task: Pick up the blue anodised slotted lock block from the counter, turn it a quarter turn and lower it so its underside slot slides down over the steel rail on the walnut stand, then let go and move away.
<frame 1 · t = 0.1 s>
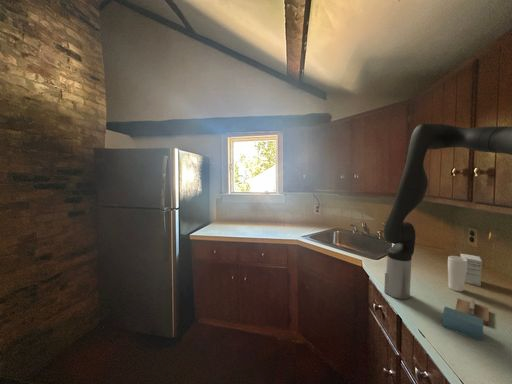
supplement box: (469, 281, 111), on the worktop
rail stand: (471, 312, 86), on the worktop
lock block: (461, 329, 77), on the worktop
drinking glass: (455, 289, 103), on the worktop
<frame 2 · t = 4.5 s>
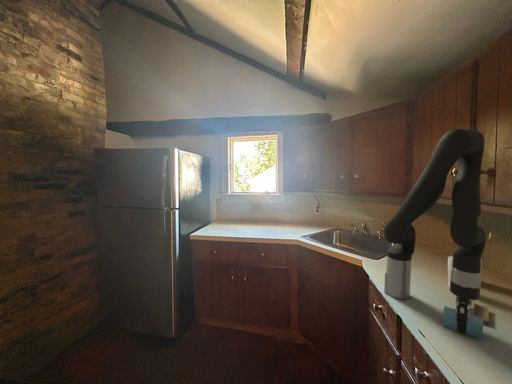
hand: (461, 327, 77), 1 cm above the worktop, tool pointing down, fingers closed on lock block, 5 cm apart
lock block: (461, 329, 77), on the worktop, touching gripper
everything else where it was.
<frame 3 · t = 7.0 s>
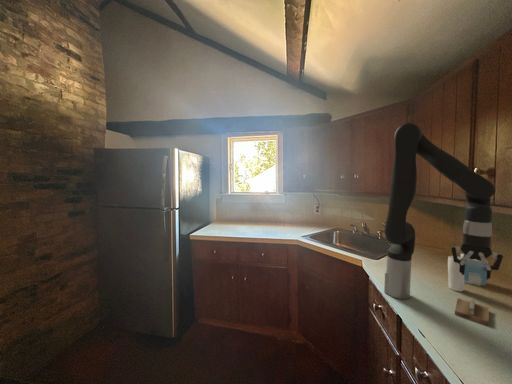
hand: (473, 276, 83), 16 cm above the worktop, tool pointing down, fingers closed on lock block, 5 cm apart
lock block: (473, 277, 83), point 15 cm above the worktop, touching gripper
everything else where it was.
when the fingers open (3 cm above the worktop, at t = 9.8 s): lock block stays where it is, resting on rail stand.
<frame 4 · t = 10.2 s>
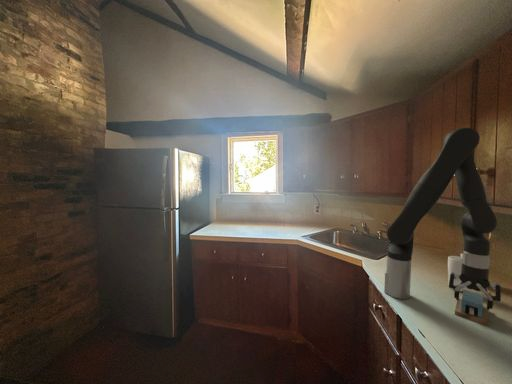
hand: (472, 303, 86), 4 cm above the worktop, tool pointing down, fingers open, 8 cm apart
lock block: (471, 309, 86), point 1 cm above the worktop, touching rail stand
everything else where it was.
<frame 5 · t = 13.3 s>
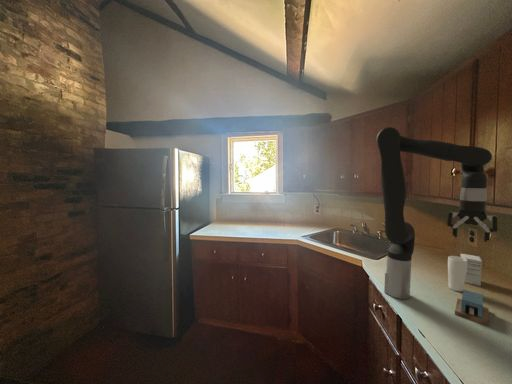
hand: (470, 239, 88), 28 cm above the worktop, tool pointing down, fingers open, 8 cm apart
nothing on the worktop moved.
at the end: lock block 0.1 cm off-centre on the rail stand, point 1.5 cm above the rail stand's base; lock block tilted 0°; the gripper is holding nothing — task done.
